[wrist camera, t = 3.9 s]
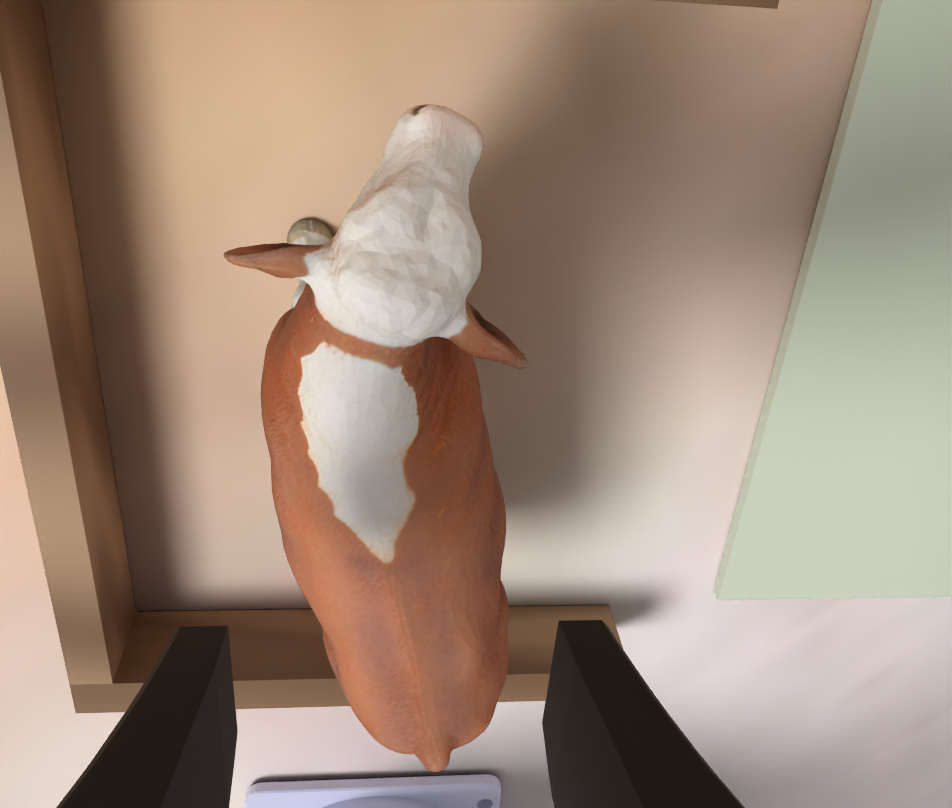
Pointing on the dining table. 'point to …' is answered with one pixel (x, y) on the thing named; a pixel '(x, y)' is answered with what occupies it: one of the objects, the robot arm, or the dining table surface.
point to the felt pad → (865, 349)
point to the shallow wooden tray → (89, 454)
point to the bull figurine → (394, 443)
